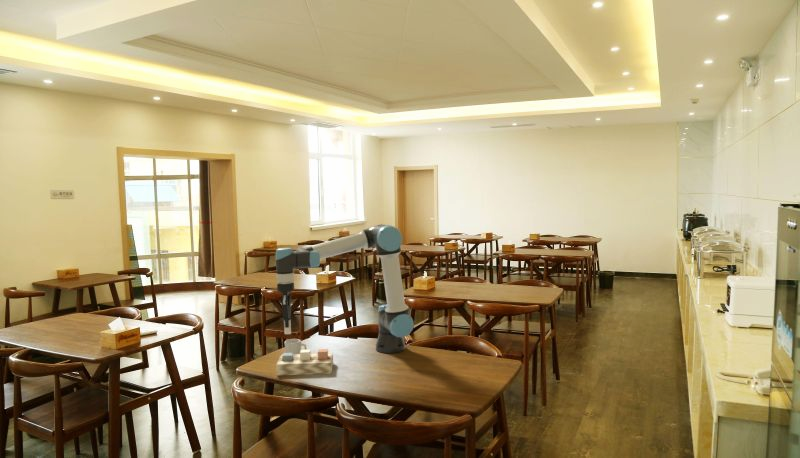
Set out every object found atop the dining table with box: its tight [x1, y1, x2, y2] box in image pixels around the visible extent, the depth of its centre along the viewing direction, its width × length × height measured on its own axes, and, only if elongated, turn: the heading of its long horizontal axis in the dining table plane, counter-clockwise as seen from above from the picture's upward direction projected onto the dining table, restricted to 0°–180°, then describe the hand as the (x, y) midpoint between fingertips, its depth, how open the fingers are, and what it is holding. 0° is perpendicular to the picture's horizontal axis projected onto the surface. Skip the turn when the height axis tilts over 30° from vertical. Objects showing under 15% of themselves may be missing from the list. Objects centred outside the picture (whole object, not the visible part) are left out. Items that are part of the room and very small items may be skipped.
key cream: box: [300, 348, 312, 360], centre depth 238 cm, size 4×4×5 cm
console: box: [275, 352, 334, 377], centre depth 238 cm, size 24×14×5 cm, turn 94°
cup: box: [284, 338, 307, 354], centre depth 256 cm, size 11×8×8 cm
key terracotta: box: [317, 348, 329, 360], centre depth 238 cm, size 4×4×5 cm
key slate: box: [281, 352, 293, 361], centre depth 237 cm, size 4×4×5 cm
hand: (287, 333), depth 237 cm, fingers closed
